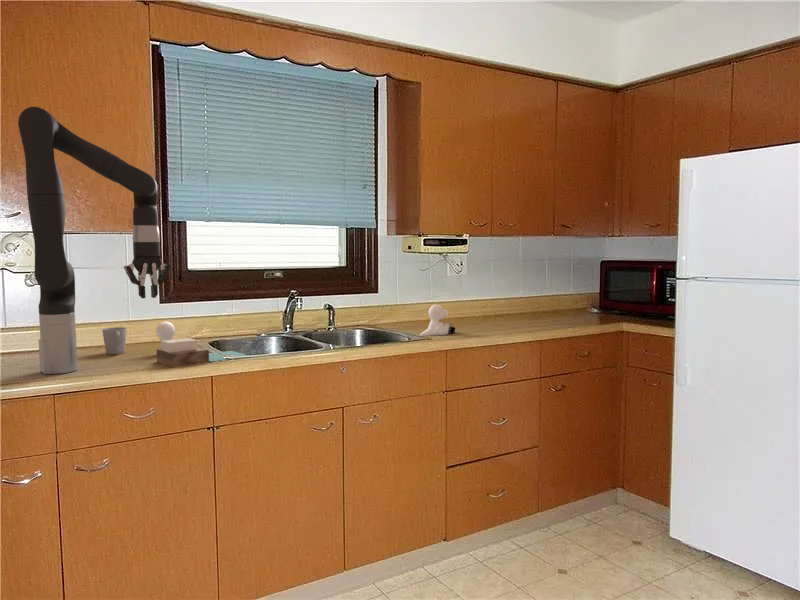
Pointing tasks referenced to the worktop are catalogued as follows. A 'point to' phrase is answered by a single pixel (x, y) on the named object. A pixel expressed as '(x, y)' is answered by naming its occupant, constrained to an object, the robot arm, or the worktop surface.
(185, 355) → the brown wooden block
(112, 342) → the cup
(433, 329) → the figurine
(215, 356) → the mat
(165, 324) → the lightbulb
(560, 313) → the worktop surface
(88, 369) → the worktop surface
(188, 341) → the pale pink rectangular block
